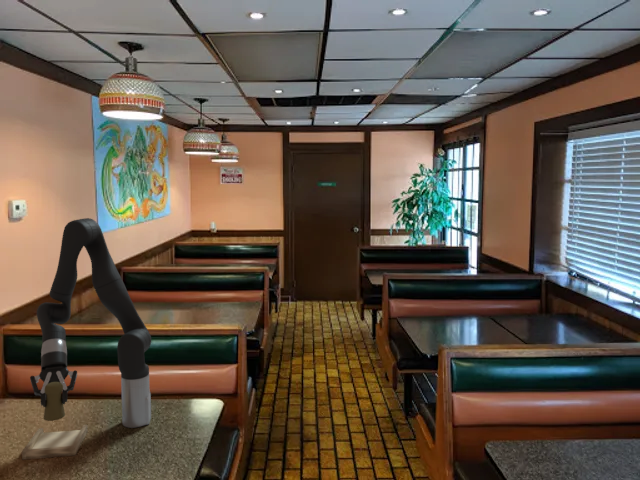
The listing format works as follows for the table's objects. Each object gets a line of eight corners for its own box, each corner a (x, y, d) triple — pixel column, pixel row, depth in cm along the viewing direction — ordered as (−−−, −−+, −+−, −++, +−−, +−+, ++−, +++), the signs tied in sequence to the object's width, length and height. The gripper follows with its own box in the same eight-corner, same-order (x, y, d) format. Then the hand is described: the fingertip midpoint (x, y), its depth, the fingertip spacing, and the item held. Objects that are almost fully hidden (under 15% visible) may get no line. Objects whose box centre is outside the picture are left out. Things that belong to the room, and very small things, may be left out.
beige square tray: (87, 431, 168) (87, 424, 167) (75, 455, 153) (74, 447, 153) (39, 435, 165) (39, 428, 164) (21, 459, 150) (21, 451, 150)
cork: (68, 412, 161) (68, 380, 159) (57, 421, 155) (56, 387, 153) (51, 411, 161) (50, 378, 160) (39, 419, 155) (38, 386, 154)
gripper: (28, 353, 159) (26, 404, 150) (77, 347, 166) (79, 396, 156) (30, 363, 164) (28, 413, 155) (78, 357, 171) (79, 405, 161)
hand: (54, 404), depth 156 cm, fingers closed on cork, 4 cm apart
